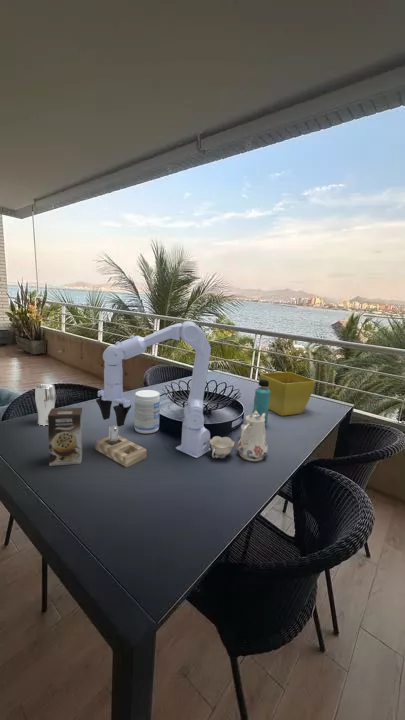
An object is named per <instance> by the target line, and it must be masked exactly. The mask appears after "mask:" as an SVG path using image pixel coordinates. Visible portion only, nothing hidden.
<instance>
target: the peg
mask: <svg viewBox="0 0 405 720" xmlns="http://www.w3.org/2000/svg"><path fill="white" fill-rule="evenodd" d="M118 435H119V427H118V426H117V424H116V425H110V426H108V437H109V445H111V446H112V445H115V444H117V443H118Z"/></svg>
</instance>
